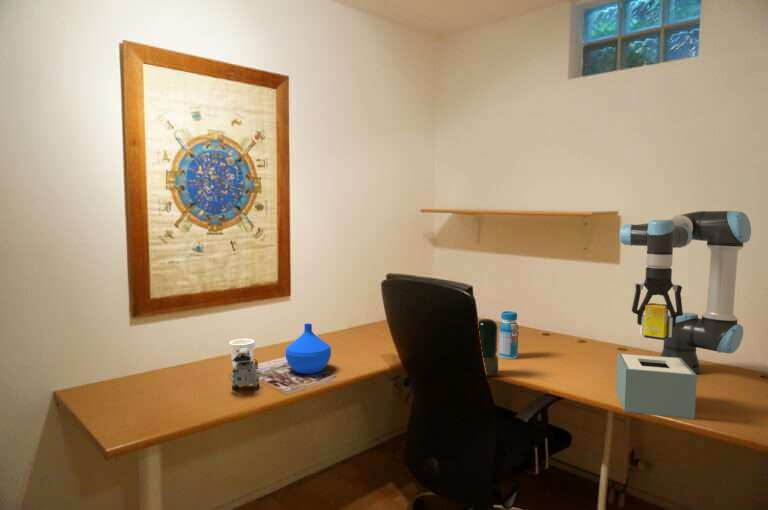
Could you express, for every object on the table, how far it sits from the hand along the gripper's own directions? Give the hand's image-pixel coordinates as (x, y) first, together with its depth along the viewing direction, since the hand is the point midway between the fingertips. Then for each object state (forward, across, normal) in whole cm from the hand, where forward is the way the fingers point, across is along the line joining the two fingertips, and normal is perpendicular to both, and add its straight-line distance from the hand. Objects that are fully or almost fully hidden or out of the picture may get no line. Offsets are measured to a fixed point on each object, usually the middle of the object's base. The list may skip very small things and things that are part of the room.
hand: (655, 335), depth 170 cm
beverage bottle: (+24, +50, -43) cm, 70 cm away
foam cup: (+24, +149, +14) cm, 152 cm away
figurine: (+24, +138, +30) cm, 143 cm away
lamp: (+24, +57, -16) cm, 64 cm away
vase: (+24, +126, +2) cm, 128 cm away
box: (+24, 0, 0) cm, 24 cm away
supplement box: (+1, 0, 0) cm, 1 cm away
